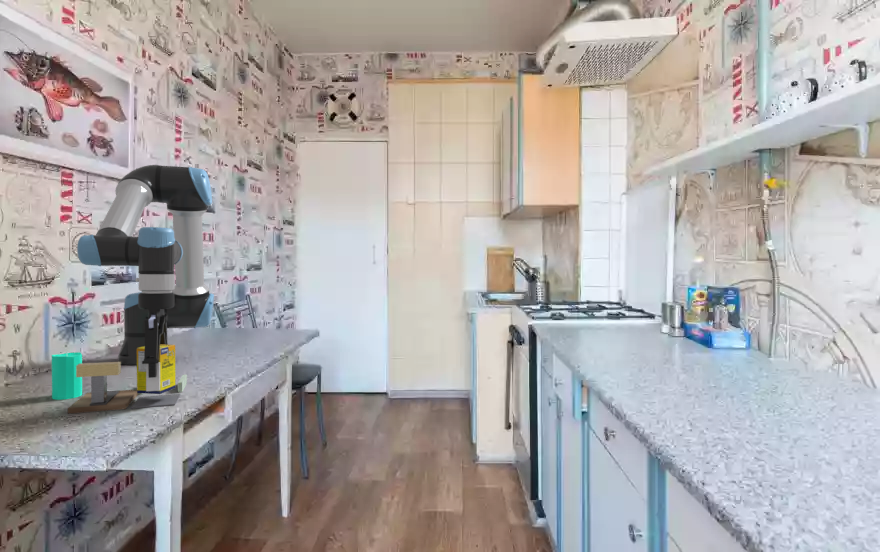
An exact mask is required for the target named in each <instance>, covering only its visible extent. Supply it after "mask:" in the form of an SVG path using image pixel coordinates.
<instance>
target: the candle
mask: <svg viewBox="0 0 880 552" xmlns="http://www.w3.org/2000/svg"><path fill="white" fill-rule="evenodd" d="M82 363H83V354H82V352H79V351H78V352H66V353H58V354H51V399H52V400H55V401H56V400H57V401H59V400H60V401H61V400H71V399H77V398H79V397H82V396H83V377H76V366H77V365H78V364H82Z"/></svg>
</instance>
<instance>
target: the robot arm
mask: <svg viewBox="0 0 880 552" xmlns="http://www.w3.org/2000/svg"><path fill="white" fill-rule="evenodd" d="M209 177H210V176H209V175H208V173H207V171H206V170H205V169H203V168H198V167H192V166H178V165H177V166H173V165H159V164H150V165H149V164H147V165H144V166H141V167H138V168H135V169H133V170H131V171H130V172H128V173H127V174H125V175H124V176H123V177H122V178H120V180H119V181H118V183H117V184H116V187H115V191H114V192H115V198H114V199H113V201H112V204H111V206H110V207H109V209H108V210H107V213H106V215H105V217H104V219H103V221H102V223H101V225H100V226H99V228H98V229H97V232H96V233H95V234H85V235H82V236H80V237H79V239H78V241H77V247H76V249H77V251H76V252H77V257H78V260H79V262H80V263H81V264H82V265H85V266H97V267H125V266H126V267H127V266H128V267H129V266H130V267H138V269H137V272H138V277H136V279H135V282H137V283H138V290H139V292H133V293H130V294H127V295H126V296H125V298H124V305H123V306H124V307H123V312H124V315H123V317H124V320H123V322H124V323H123V326H124V327H123V330H124V331H123V332H124V336H123V337H124V339H123V341H122V344H121V347H120V350H119V352H118V356H117V362H121V365H127V366H128V365H129V366H130V365H131V366H133V365H134V366H135V365H136V366H137V348H139V347H143V346H145V352H144V361H142V364H146V391H160V362H159V349H160V344H166V345H169V343H168V329H199V328H206V327H208V326H209V325H211V321H212V317H213V311H214V310H213V309H214V302H215V294H214V293H212V292H210V287H209V286H207V285H206V284H205V275H204V274H205V273H204V272H205V270H204V266H205V264H204V239H203V235H204V234H203V215H204V214H205V213H206V212H207V211H208V206H211V205H212V203H213V198H212V197H213V196H212V195H213V194H212V188H211V183H210V178H209ZM151 203H160V204H166V209H167V211H168V212H169V213H171V214H172V228H170V227H159V226H158V227H157V226H156V227H155V226H144V227H143V226H142V227H141V228H139V229H138V234H137V236H133V235H134V234H135V231H136V229H137V226H138V224H139V221H140V219H141V217H142V215H143V212H144V210H145V209H146V207H148V206H149V205H150V204H151ZM151 356H154V357H151Z"/></svg>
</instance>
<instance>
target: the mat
mask: <svg viewBox="0 0 880 552" xmlns="http://www.w3.org/2000/svg"><path fill="white" fill-rule="evenodd" d="M180 396H181V393H174V394H172V393H171V394H157V395H146V396H144V395H143V396H138V398H137V399H136V401H135V402H134V403H133V404H132V405H131V406H130V409H132V410H133V409H143V408H157V407H158V408H159V407H169V406H170V407H171V406H175V405H176V404H177V402H178V400H179V398H180Z"/></svg>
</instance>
